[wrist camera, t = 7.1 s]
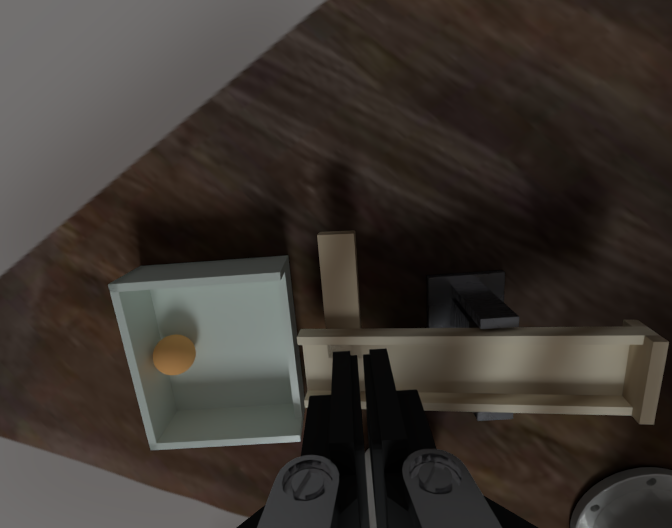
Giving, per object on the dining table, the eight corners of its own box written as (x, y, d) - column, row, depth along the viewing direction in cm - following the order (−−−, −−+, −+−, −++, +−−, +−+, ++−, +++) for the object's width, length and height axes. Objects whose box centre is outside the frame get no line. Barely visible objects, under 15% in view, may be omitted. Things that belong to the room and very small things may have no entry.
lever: (653, 216, 23) (690, 225, 20) (625, 395, 26) (653, 426, 23) (293, 233, 26) (282, 243, 23) (311, 390, 30) (302, 416, 27)
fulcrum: (501, 270, 31) (549, 304, 24) (497, 369, 33) (538, 425, 26) (426, 275, 31) (452, 310, 24) (427, 373, 33) (451, 430, 26)
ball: (206, 363, 32) (182, 385, 29) (175, 360, 33) (148, 381, 30) (200, 328, 31) (174, 347, 28) (167, 326, 32) (139, 344, 29)
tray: (305, 405, 34) (300, 441, 30) (174, 413, 35) (150, 450, 30) (288, 255, 31) (279, 272, 26) (140, 265, 31) (108, 284, 27)
